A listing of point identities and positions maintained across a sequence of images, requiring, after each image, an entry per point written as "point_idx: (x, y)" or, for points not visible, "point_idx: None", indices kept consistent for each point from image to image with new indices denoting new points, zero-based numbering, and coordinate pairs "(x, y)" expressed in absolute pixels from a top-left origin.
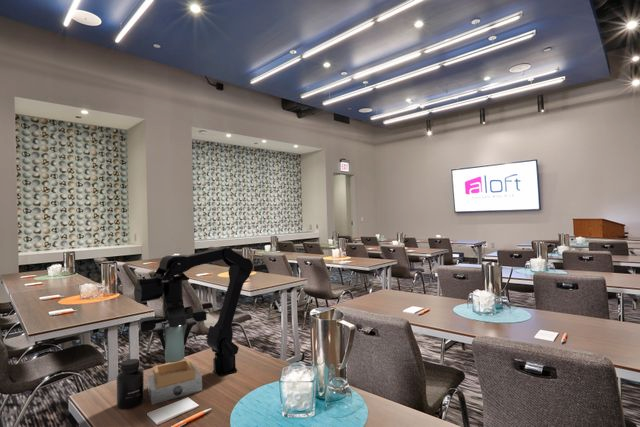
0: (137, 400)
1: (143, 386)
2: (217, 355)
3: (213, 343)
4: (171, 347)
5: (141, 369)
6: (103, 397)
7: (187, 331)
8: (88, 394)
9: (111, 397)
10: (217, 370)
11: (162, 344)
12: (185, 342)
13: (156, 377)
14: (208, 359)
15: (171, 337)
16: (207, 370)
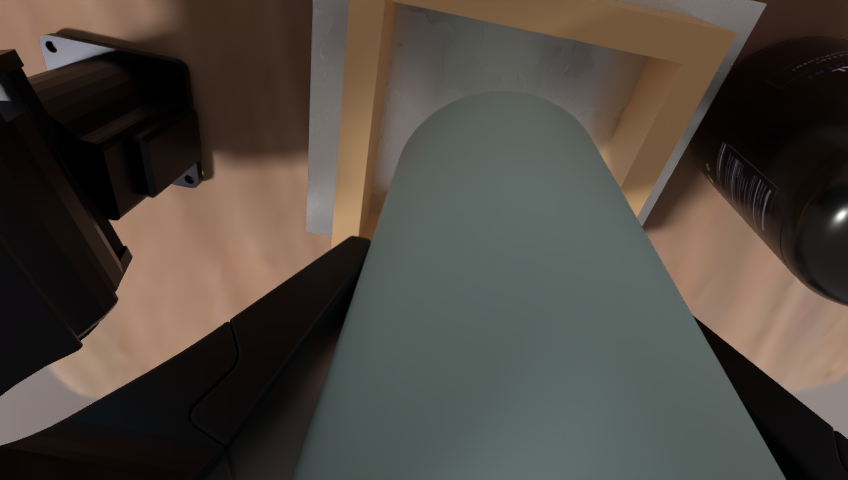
0: (808, 46)
1: (763, 118)
2: (97, 157)
3: (18, 199)
4: (622, 212)
5: (842, 216)
6: (781, 301)
7: (208, 392)
8: (790, 371)
9: (762, 275)
10: (174, 105)
11: (731, 353)
12: (339, 255)
13: (687, 109)
14: (209, 319)
15: (702, 359)
16: (240, 205)
